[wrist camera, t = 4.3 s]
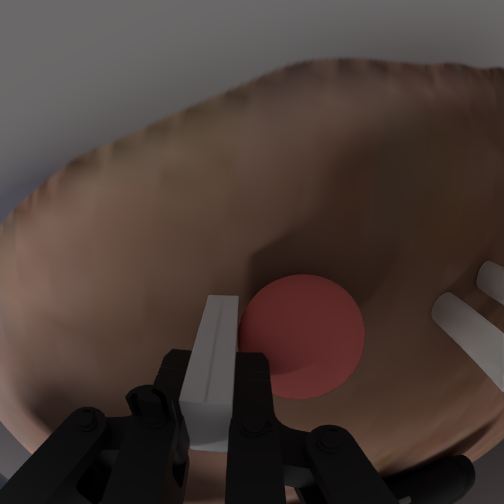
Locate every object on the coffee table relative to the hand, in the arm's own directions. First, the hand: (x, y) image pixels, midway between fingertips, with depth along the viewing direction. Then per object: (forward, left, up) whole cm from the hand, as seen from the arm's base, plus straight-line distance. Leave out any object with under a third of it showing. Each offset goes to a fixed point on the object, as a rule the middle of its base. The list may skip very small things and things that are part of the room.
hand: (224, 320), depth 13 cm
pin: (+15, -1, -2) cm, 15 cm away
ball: (+4, 0, +1) cm, 4 cm away
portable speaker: (+25, -34, -3) cm, 43 cm away
